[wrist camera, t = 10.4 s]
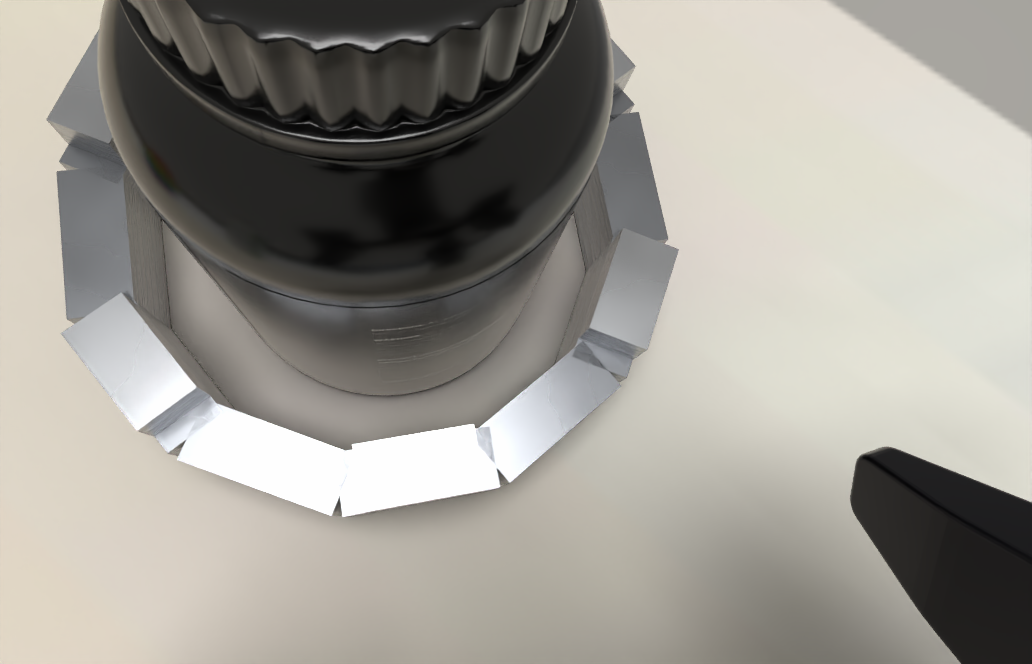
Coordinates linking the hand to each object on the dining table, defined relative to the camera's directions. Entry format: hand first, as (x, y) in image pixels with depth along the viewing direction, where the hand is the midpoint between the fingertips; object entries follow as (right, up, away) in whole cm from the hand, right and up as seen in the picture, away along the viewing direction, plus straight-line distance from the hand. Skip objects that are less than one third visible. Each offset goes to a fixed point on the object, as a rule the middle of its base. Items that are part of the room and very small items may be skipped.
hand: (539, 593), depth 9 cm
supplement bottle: (-3, +5, +9) cm, 11 cm away
